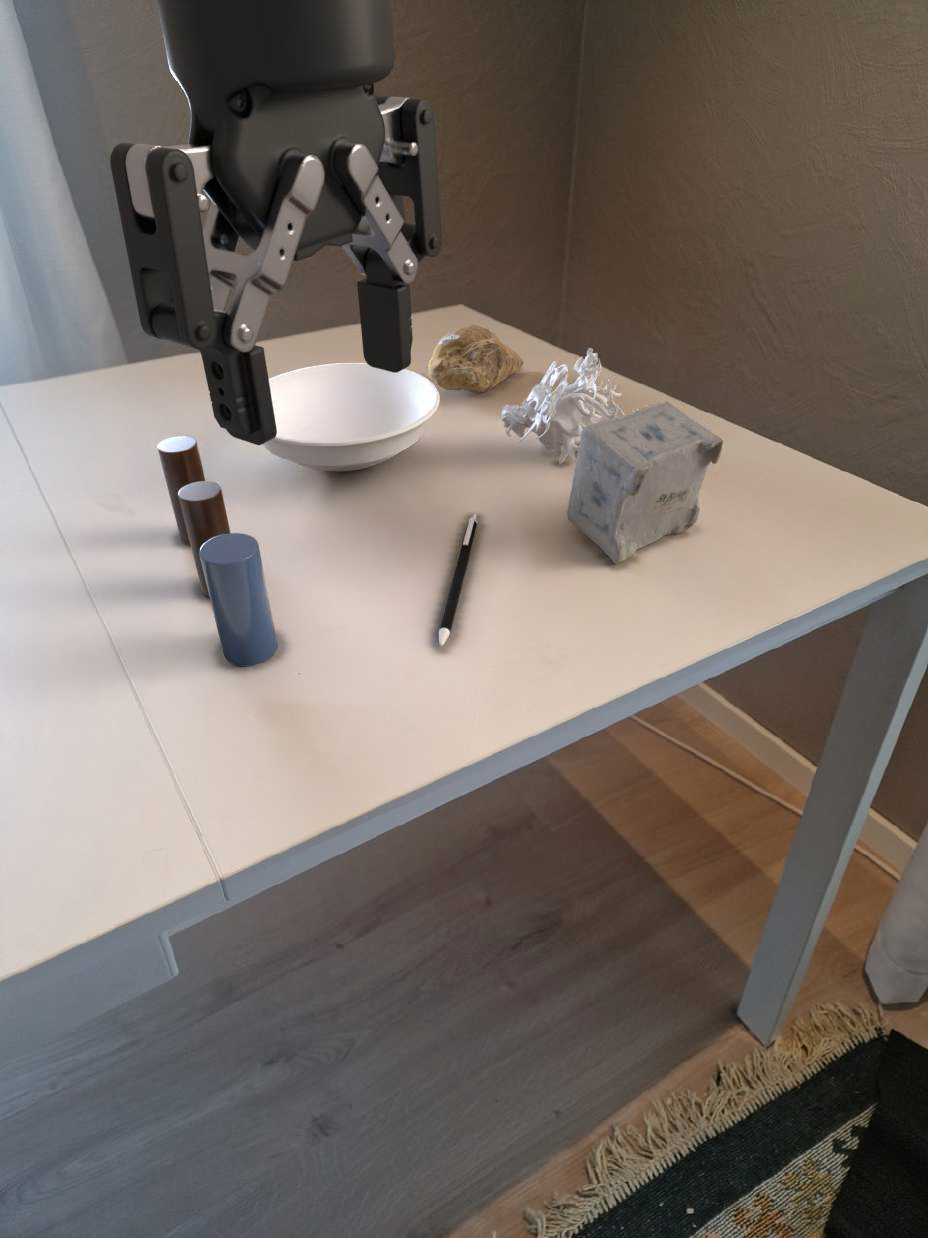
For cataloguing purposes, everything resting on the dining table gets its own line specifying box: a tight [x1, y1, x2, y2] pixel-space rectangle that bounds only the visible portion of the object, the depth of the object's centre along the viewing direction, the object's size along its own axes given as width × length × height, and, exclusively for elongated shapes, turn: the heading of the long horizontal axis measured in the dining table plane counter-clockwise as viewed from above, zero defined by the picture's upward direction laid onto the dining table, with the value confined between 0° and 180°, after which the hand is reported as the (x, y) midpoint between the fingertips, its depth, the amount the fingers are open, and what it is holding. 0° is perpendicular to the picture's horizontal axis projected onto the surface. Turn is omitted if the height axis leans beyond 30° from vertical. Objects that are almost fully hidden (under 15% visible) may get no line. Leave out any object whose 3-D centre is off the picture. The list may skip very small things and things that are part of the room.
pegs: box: [157, 435, 232, 598], centre depth 72 cm, size 3×12×9 cm, turn 25°
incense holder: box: [566, 401, 724, 565], centre depth 74 cm, size 10×8×10 cm
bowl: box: [262, 362, 441, 473], centre depth 88 cm, size 20×20×6 cm
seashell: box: [427, 324, 524, 394], centre depth 102 cm, size 14×8×8 cm
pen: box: [438, 513, 478, 648], centre depth 72 cm, size 1×19×1 cm, turn 172°
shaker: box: [199, 532, 278, 667], centre depth 62 cm, size 4×4×9 cm
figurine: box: [500, 347, 649, 466], centre depth 87 cm, size 13×15×12 cm
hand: (324, 400), depth 36 cm, fingers open, 8 cm apart
